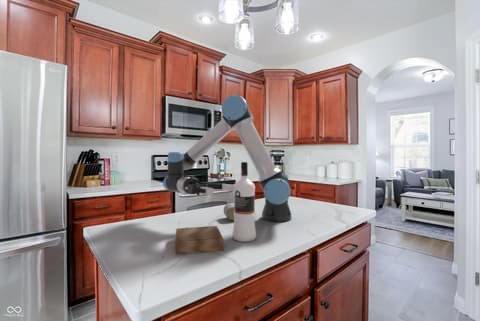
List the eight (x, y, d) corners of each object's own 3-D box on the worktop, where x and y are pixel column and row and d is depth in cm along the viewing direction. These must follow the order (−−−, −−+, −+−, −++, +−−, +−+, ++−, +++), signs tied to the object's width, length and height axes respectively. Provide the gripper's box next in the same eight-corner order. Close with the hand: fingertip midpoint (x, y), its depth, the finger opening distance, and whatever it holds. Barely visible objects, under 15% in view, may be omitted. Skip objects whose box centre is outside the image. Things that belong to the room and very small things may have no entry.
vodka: (261, 239, 95) (261, 162, 94) (241, 244, 89) (241, 162, 89) (246, 233, 102) (246, 161, 102) (228, 237, 97) (227, 161, 96)
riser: (216, 235, 99) (216, 225, 99) (223, 250, 84) (223, 238, 84) (176, 238, 96) (176, 228, 95) (175, 255, 80) (175, 242, 80)
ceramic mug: (226, 221, 120) (226, 206, 120) (223, 217, 128) (223, 203, 128) (247, 220, 123) (247, 205, 123) (242, 216, 131) (242, 202, 131)
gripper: (207, 190, 124) (241, 195, 111) (166, 197, 104) (202, 203, 91) (207, 175, 124) (241, 178, 111) (166, 179, 104) (202, 183, 91)
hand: (223, 189), depth 101 cm, fingers open, 13 cm apart
